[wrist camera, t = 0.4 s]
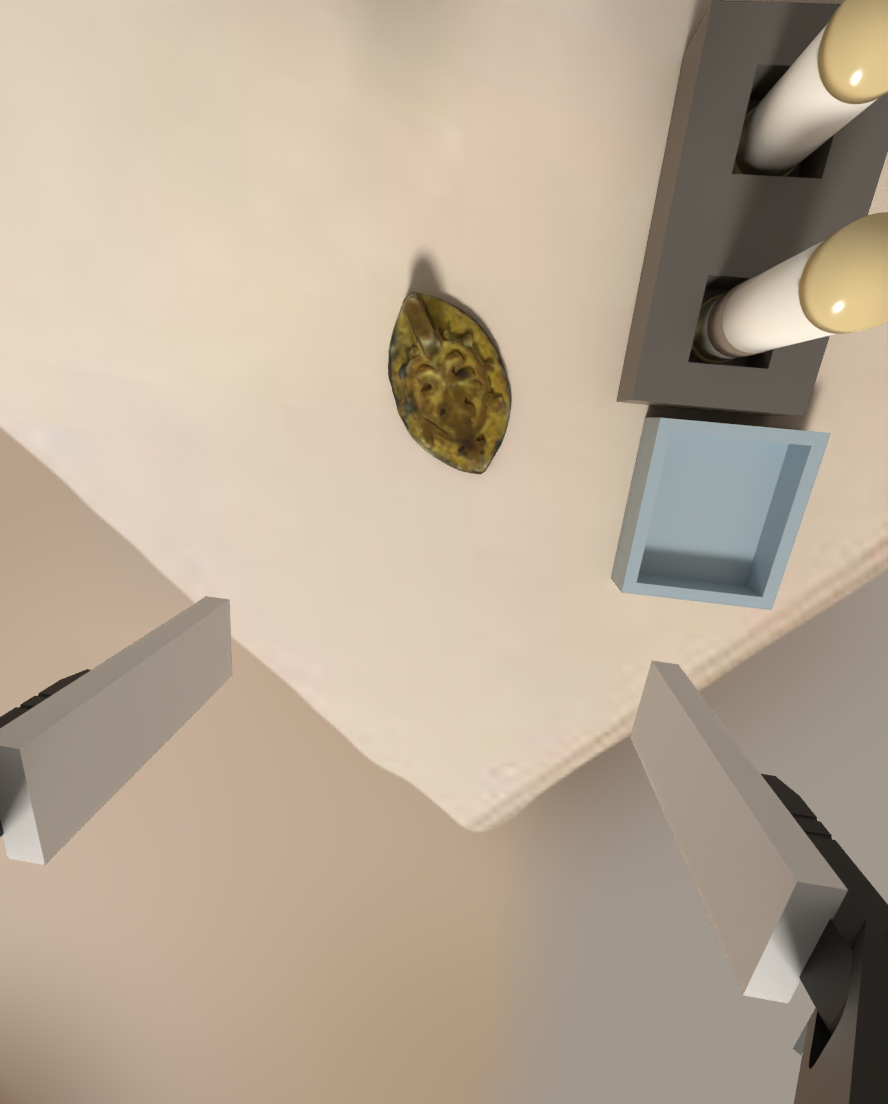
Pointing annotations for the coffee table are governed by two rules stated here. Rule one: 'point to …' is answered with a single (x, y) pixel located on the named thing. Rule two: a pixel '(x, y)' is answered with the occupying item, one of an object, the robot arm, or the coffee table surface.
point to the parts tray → (715, 510)
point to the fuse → (818, 91)
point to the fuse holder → (739, 213)
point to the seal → (448, 383)
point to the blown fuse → (802, 297)
